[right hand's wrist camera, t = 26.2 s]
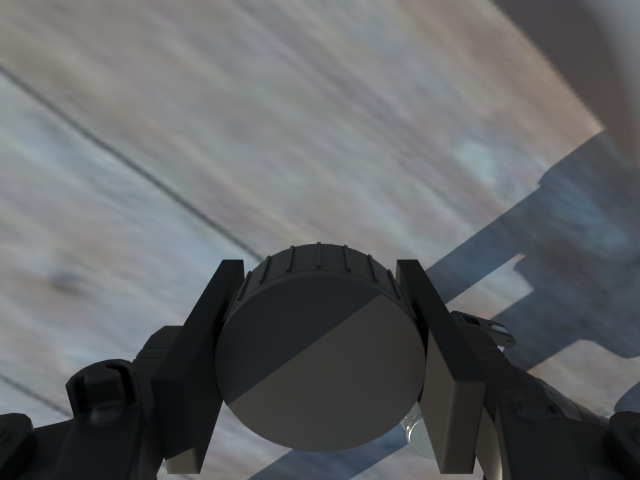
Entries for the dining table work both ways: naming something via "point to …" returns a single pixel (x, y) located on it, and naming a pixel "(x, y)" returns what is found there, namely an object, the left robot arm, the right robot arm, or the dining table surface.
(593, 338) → the dining table surface
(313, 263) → the lid
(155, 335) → the right robot arm
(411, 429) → the thermos
